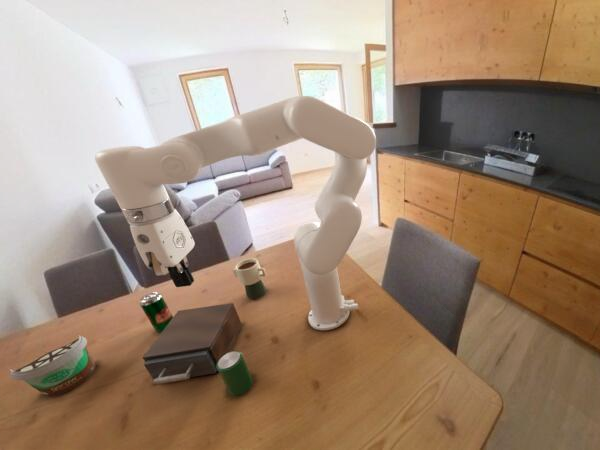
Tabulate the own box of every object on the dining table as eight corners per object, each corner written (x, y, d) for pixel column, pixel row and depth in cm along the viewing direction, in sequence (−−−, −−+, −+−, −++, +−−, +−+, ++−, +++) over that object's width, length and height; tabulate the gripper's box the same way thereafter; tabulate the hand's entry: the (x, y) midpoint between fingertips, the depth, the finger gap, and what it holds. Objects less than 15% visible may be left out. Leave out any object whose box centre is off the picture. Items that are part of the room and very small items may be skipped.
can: (255, 373, 70) (244, 348, 66) (249, 393, 65) (237, 367, 61) (233, 377, 69) (221, 352, 65) (225, 398, 65) (211, 372, 61)
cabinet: (221, 370, 71) (209, 346, 67) (158, 381, 69) (142, 357, 65) (242, 324, 85) (233, 302, 81) (189, 332, 83) (178, 310, 79)
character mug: (276, 287, 101) (267, 257, 95) (267, 301, 94) (257, 269, 89) (247, 288, 101) (236, 258, 95) (236, 301, 95) (224, 270, 89)
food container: (39, 412, 64) (10, 384, 59) (33, 398, 67) (5, 371, 62) (109, 369, 73) (89, 343, 68) (102, 359, 76) (82, 333, 71)
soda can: (165, 334, 83) (147, 303, 78) (151, 332, 84) (133, 302, 79) (180, 322, 87) (164, 292, 82) (167, 320, 88) (150, 290, 83)
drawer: (208, 387, 66) (198, 368, 63) (145, 399, 64) (131, 379, 61) (236, 328, 83) (228, 311, 80) (186, 336, 81) (177, 318, 78)
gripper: (146, 224, 49) (186, 304, 57) (189, 196, 62) (216, 264, 71) (99, 229, 48) (146, 309, 56) (152, 199, 61) (184, 268, 70)
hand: (185, 284), depth 63 cm, fingers closed
